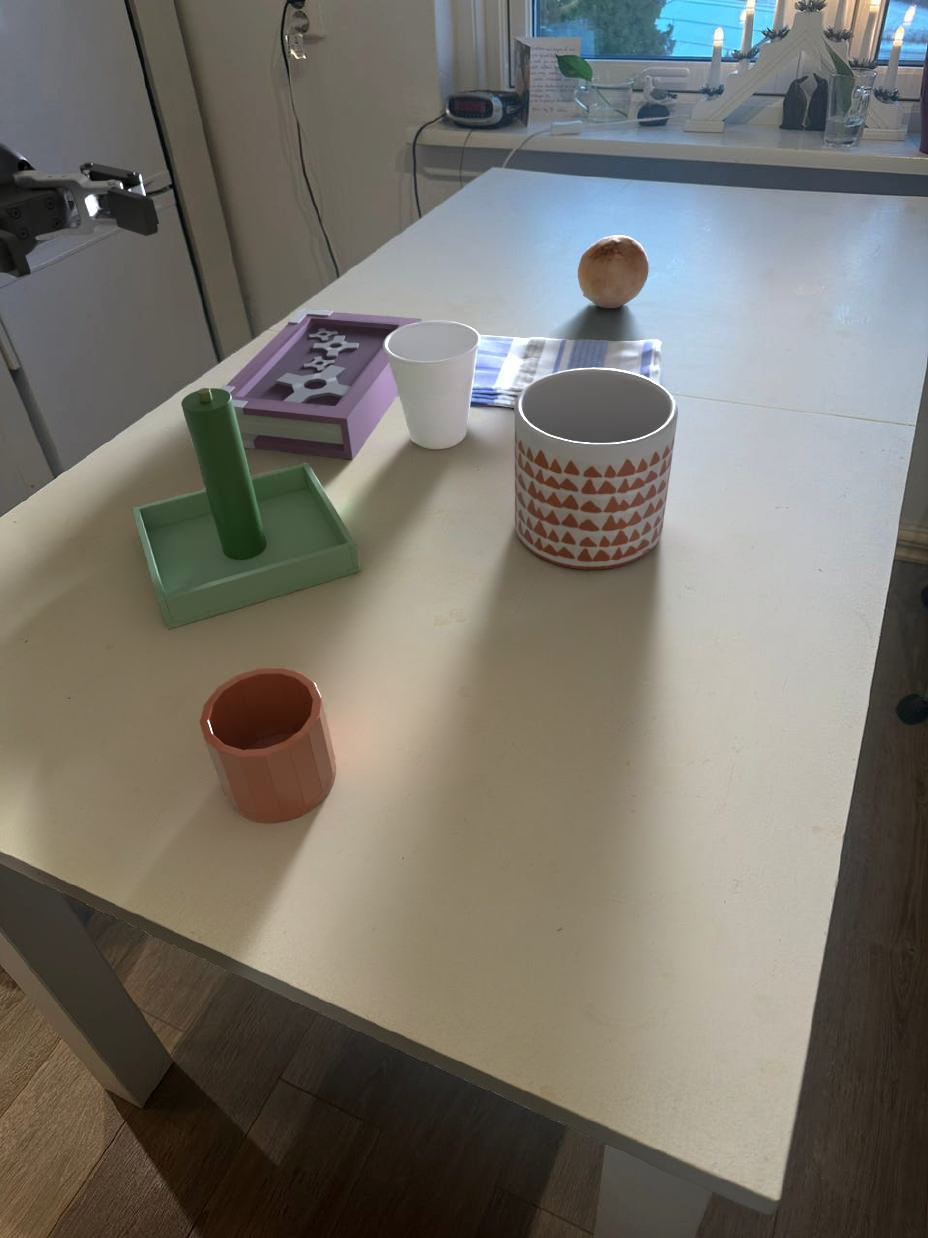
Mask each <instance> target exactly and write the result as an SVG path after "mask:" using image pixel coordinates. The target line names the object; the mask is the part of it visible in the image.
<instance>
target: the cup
mask: <svg viewBox="0 0 928 1238" xmlns="http://www.w3.org/2000/svg"><path fill="white" fill-rule="evenodd" d="M479 335H480V334H479V332H478V331H476V329H474V328H472V327H471V326H469V325H466V324H463V323H459V322H456V321H448V320H425V321H422V322H419V323H414V324H410V325H406V326H403V327H401V328H399V329H397V330H395V331H393V332H392V333H390V334H389V335H388V336H387V337H386V339H385V340H384V343H383V348H384V351H385V352H386V354H387V355H388V358H389V362H390V366H391V369H392V373H393V376H394V380H395V382H396V386H397V390H398V397H399V400H400V404H401V407H402V411H403V414H404V419H405V422H406V425H407V428H408V432H409V436H410V439H411V440H412V442H414V443H415V444H416V445H418V446H419V447H422V448H423V449H428V450H445V449H450V448H452V447H455V446H456V445H458V444H459V443H461V442H462V441H463V440H464V439H465V438H466V436H467V433H468V425H469V418H470V417H469V416H470V410H471V409H470V408H471V405H470V402H471V394H472V386H473V379H474V373H475V365H476V358H477V350H478V347H479V345H480V343H481V338H480V336H479Z"/></svg>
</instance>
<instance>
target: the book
mask: <svg viewBox="0 0 928 1238" xmlns="http://www.w3.org/2000/svg"><path fill="white" fill-rule="evenodd" d="M419 322H423V318H414V317H404V316H391V315H390V316H388V315H376V314H362V313H350V312H336V311H334V310H327V309H326V310H325V309H313V308H312V309H311V308H300V309H299V311H298V312H296V313H295V315H293V317H291V318H290V319H289V320H288V321H287V324H286V325H285V326H284V327H283V328H282V329H281V330H280V331H279V332H278V333H277V334H276V335H275V336H274V337H273V338H272V339H271V340H270V341H269V342H268V343H267V344H266V345H265V346H264V347H263V348H262V349H261V350H260V351H259V352H258V353H257V354H256V355H255V356H254V357H253V358H252V359H251V360H250V361H249V362H248V363H247V364H246V365H245V366H244V367H243V368H241V370H240V371H239V372H237V374H236V375H235V376H234V377H232V379H230V381H229V382H227V384H226V385H222V387H220V388H219V389H223V390H226V391H228V392H229V393H230V394H231V398H232V402H233V406H234V410H235V414H236V418H237V423H238V427H239V431H240V435H241V439H242V443H243V447H244V449H253V450H255V449H262V450H269V451H276V452H277V451H279V452H286V453H295V454H302V455H303V454H304V455H312V456H320V457H329V458H337V459H344V460H345V459H346V460H354V459H355V457H356V456H357V454H358V453H359V452H360V450H361V448H362V447H363V445H364V444H365V443H366V441H367V440H368V438H369V437H370V436H371V434H372V433H373V431H374V430H375V428H376V427H377V426H378V424H379V423H380V421H382V418H383V417H384V415H385V414H386V412H387V411H388V410H389V408H390V407H391V406H392V404H393V403H394V401H395V400H396V398H397V397H398V396H399V394H398V390H397V386H396V382H395V380H394V376H393V373H392V369H391V366H390V362H389V358H388V355H387V354H386V352H385V351H384V348H383V343H384V340H385V339H386V337H387V336H388V335H389V334H390V333H392V332H393V331H395V330H397V329H399V328H401V327H403V326H406V325H410V324H414V323H419Z"/></svg>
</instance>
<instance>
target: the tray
mask: <svg viewBox="0 0 928 1238" xmlns="http://www.w3.org/2000/svg"><path fill="white" fill-rule="evenodd" d="M251 480H252V485H253V489H254V493H255V497H256V501H257V505H258V509H259V514H260V518H261V522H262V526H263V530H264V534H265V538H266V543H267V544H266V548H265V550H264V551H263V552H262V553H261V554H259V555H258V556H256V557H253V558H250V559H246V560H234V559H230V558H228V557H227V556H226V555H225V554H224V552H223V549H222V545H221V542H220V538H219V535H218V531H217V528H216V524H215V521H214V517H213V514H212V510H211V507H210V503H209V500H208V496H207V493H206V489H205V488H203V489H200V490H196V491H191V492H189V493H184V494H182V495H177V496H173V497H170V498H166V499H162V500H158V501H154V502H149V503H146V504H143V505H139V506H135V507H132V508H131V510H132V514H133V517H134V521H135V525H136V528H137V531H138V536H139V540H140V543H141V547H142V549H143V553H144V557H145V560H146V564H147V567H148V572H149V575H150V578H151V582H152V585H153V589H154V593H155V596H156V600H157V603H158V606H159V609H160V611H161V615H162V617H163V620H164V623H165V625H166V627H167V630H171V629H175V628H178V627H181V626H184V625H188V624H192V623H194V622H197V621H201V620H204V619H208V618H211V617H214V616H217V615H221V614H225V613H228V612H231V611H234V610H237V609H240V608H244V607H248V606H251V605H254V604H257V603H261V602H264V601H267V600H270V599H274V598H277V597H281V596H283V595H287V594H291V593H294V592H297V591H300V590H303V589H308V588H311V587H314V586H317V585H320V584H323V583H327V582H329V581H330V582H331V581H334V580H337V579H340V578H343V577H346V576H347V577H348V576H350V575H354V574H357V573H360V572H361V565H360V558H359V551H358V547H357V543H356V541H355V540H354V538H353V536H352V535H351V533H350V531H349V530H348V528H347V526H346V524H345V522H344V521H343V520H342V517H341V516H340V515H339V513H338V511H337V509H336V508H335V506H334V504H333V502H332V501H331V499H330V497H329V496H328V494H327V492H326V491H325V489H324V487H323V486H322V484H321V482H320V481H319V479H318V478H317V476H316V474H315V473H314V470H313V469H312V467H311V466H310V464H309V462H304V463H301V464H297V465H296V464H295V465H293V466H288V467H285V468H280V469H277V470H273V471H269V472H266V473H262V474H257V475H254V476H251Z"/></svg>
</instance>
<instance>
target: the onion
mask: <svg viewBox="0 0 928 1238" xmlns="http://www.w3.org/2000/svg"><path fill="white" fill-rule="evenodd" d="M578 263H579V264H578V267H577V280H578V284H579V288H580V290H581V292H582V296H583V297H584V298H586V299H587V300H588V301H590V302H591V303H593V304H594V305H595V306H597V307H600V308H605V309H617V308H618V309H619V308H620V307H622V306H624V305H626V304H628V303H630V302H631V301H632V300H634V299H635V298H636V297H637V296H638V295H639V294H640V292H641V291H642V289H643V288H644V286H645V284H646V282H647V280H648V277H649V271H650V270H649V269H650V266H649V265H650V264H649V258H648V255H647V253H646V250H645V249H644V247H643V246H642V243H640V242H639V241H637V240H636V239H634V238H632V237H630V236H627V235H622V234H615V235H610V236H606V237H602V238H600V239H599V240H596V241H595V242H594V243H592V244H590V246H589V247H588V248H587V249H586V250H585V251H584V252H583V254H582V255H581V258H580V260H579V262H578Z"/></svg>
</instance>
